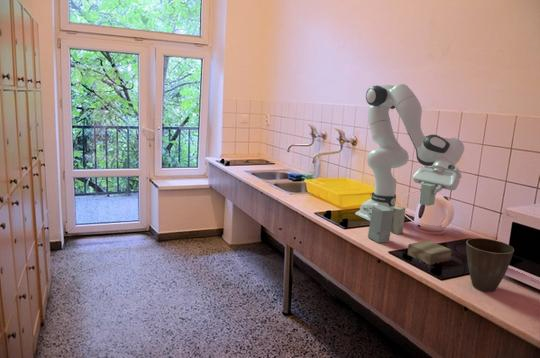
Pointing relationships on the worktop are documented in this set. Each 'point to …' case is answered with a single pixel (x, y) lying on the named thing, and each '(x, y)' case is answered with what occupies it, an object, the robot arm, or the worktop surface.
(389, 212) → the skincare box
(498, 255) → the plant pot
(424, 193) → the sage column
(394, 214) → the box
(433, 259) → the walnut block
